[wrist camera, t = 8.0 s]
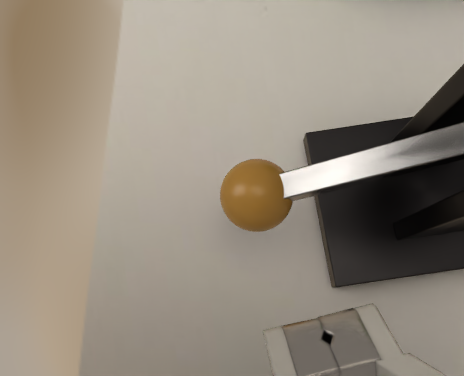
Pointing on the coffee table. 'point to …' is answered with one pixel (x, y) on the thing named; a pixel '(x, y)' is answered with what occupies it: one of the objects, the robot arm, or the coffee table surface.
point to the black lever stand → (393, 201)
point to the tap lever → (329, 176)
